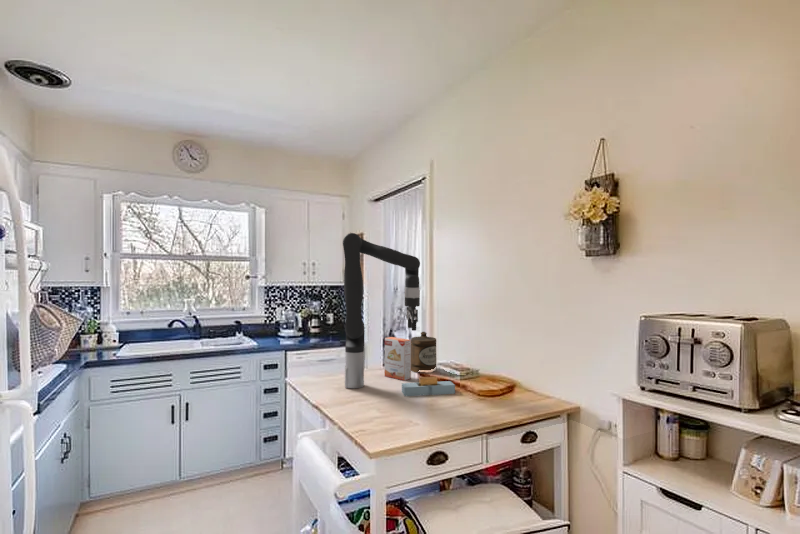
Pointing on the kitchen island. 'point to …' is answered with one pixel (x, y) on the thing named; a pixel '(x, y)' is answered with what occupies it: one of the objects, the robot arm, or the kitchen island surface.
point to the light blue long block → (428, 389)
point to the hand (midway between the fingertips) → (411, 329)
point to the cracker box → (398, 358)
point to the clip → (427, 381)
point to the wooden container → (423, 353)
